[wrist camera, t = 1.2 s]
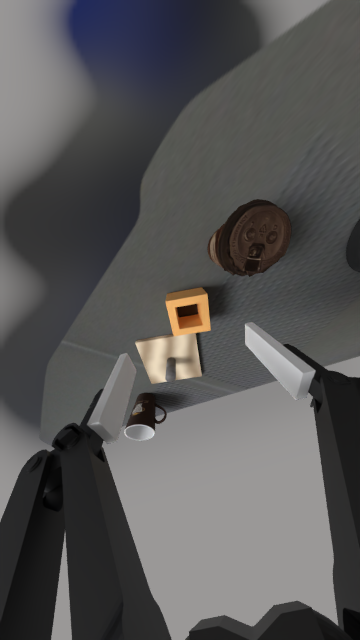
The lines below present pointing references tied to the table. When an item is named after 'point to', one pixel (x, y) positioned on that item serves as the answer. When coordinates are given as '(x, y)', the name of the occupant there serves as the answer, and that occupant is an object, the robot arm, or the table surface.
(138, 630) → the robot arm
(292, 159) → the table surface
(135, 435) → the coffee mug
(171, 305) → the orange hollow block
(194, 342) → the keeper post
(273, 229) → the coffee cup
